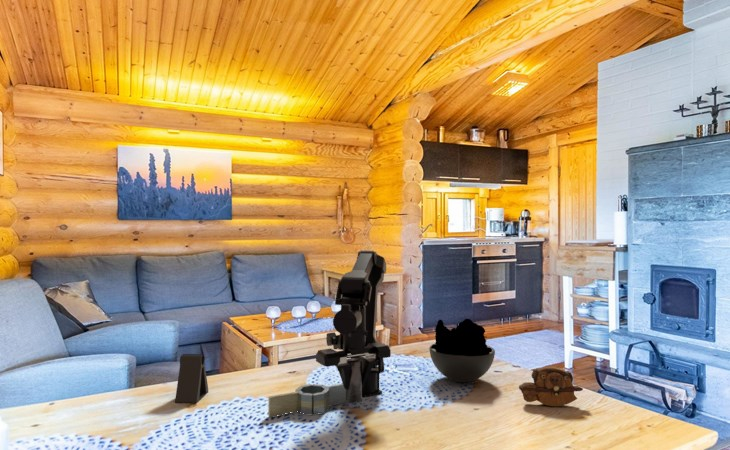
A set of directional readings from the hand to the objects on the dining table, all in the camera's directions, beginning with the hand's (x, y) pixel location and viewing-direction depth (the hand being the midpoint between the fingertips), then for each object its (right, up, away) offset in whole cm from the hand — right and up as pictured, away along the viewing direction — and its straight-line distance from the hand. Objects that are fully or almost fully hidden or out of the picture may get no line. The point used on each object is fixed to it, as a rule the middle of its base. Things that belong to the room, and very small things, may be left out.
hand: (353, 387), depth 123 cm
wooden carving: (+53, -8, +8) cm, 54 cm away
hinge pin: (0, -3, 0) cm, 3 cm away
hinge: (-11, -7, +5) cm, 14 cm away
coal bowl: (+33, -8, +29) cm, 45 cm away
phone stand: (-45, -7, +13) cm, 48 cm away
